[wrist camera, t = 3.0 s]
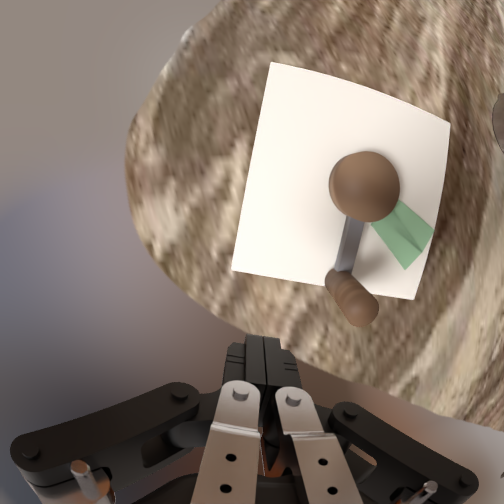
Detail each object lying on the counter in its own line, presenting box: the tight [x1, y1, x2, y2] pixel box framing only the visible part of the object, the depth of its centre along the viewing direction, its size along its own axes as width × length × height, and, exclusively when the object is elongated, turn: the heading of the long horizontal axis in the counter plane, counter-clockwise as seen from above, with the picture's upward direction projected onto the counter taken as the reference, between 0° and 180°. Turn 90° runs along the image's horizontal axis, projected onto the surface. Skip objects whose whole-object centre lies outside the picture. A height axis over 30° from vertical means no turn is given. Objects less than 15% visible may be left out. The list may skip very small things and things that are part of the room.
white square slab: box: [231, 62, 450, 300], centre depth 26 cm, size 20×20×3 cm
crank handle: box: [325, 151, 400, 327], centre depth 22 cm, size 13×6×7 cm, turn 169°
